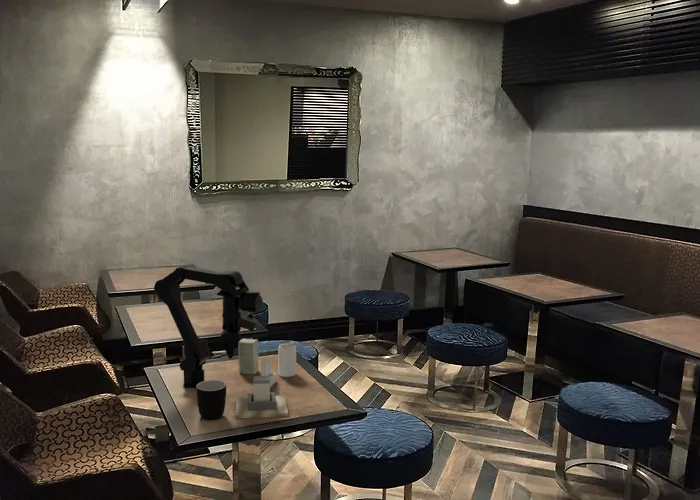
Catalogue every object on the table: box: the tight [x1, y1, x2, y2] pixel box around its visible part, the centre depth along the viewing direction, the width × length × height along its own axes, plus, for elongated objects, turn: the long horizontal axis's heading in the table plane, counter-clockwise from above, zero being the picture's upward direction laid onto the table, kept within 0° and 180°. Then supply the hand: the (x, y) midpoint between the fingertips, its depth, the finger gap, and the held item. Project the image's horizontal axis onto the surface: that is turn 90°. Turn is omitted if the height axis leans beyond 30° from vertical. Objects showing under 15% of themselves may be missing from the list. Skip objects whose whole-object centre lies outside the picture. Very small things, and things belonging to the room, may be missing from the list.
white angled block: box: [260, 358, 277, 388], centre depth 217 cm, size 4×10×9 cm, turn 168°
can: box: [277, 340, 297, 378], centre depth 227 cm, size 6×6×12 cm
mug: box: [195, 379, 227, 422], centre depth 191 cm, size 12×9×10 cm
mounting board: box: [235, 395, 289, 420], centre depth 198 cm, size 16×14×1 cm
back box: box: [246, 392, 277, 411], centre depth 197 cm, size 9×8×2 cm
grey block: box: [253, 375, 271, 401], centre depth 197 cm, size 5×4×9 cm
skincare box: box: [237, 338, 259, 375], centre depth 228 cm, size 6×4×12 cm
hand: (231, 353), depth 210 cm, fingers open, 9 cm apart
